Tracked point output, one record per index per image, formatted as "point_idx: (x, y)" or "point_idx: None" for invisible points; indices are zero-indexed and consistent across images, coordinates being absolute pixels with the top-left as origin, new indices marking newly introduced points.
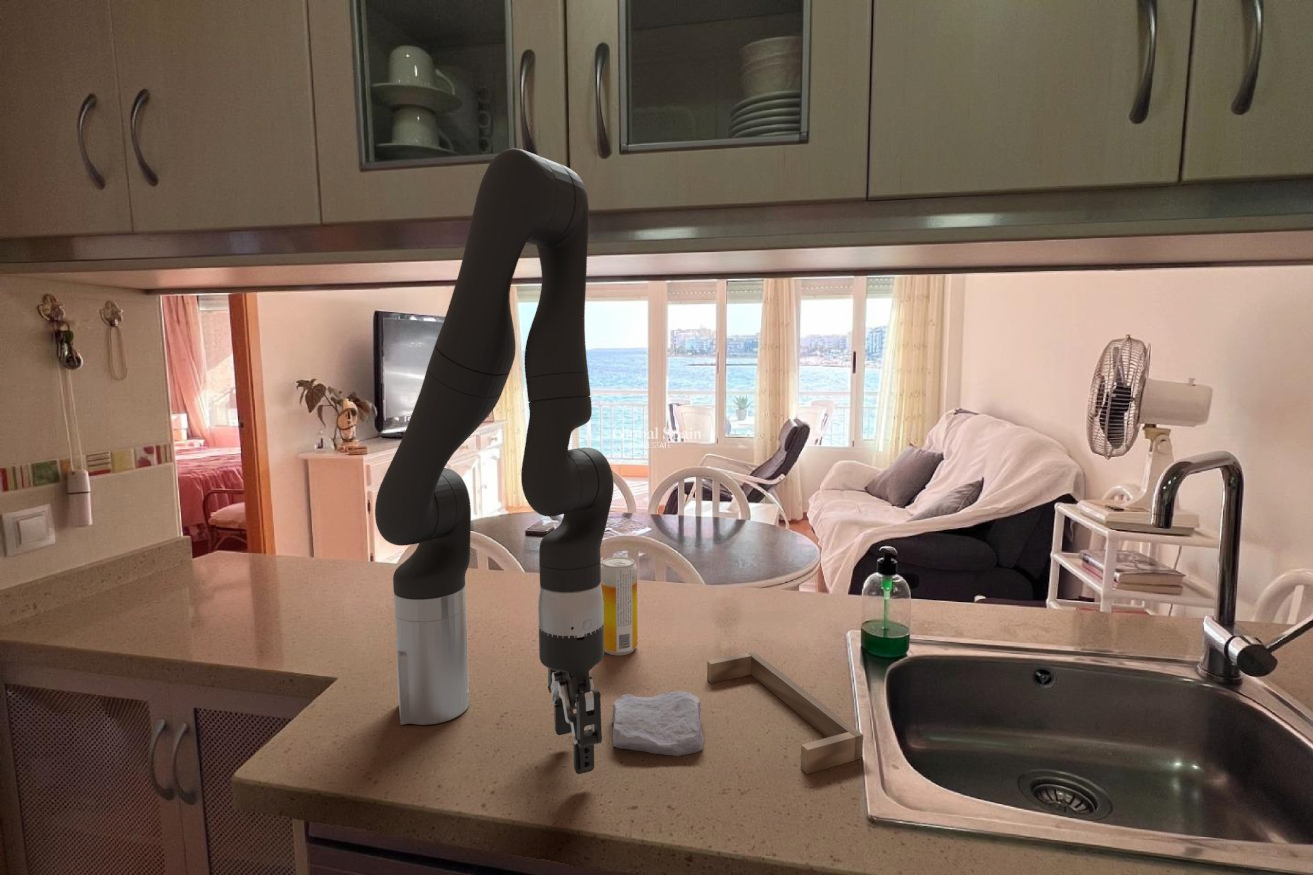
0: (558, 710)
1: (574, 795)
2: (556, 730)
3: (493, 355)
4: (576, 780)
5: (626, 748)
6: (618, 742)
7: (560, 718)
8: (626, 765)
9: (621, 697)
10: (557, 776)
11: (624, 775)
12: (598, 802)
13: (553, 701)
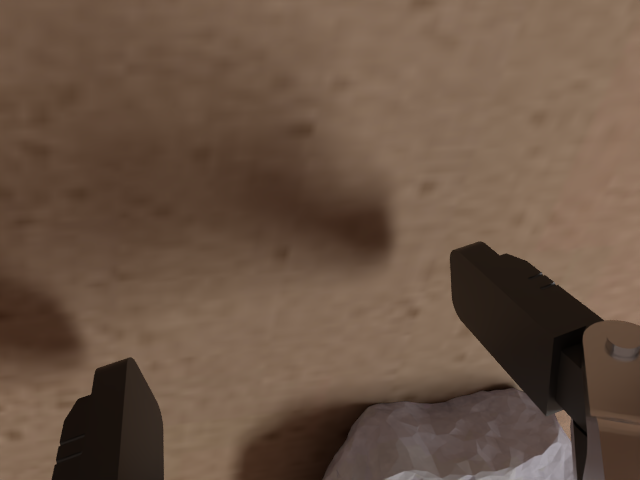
0: (536, 335)
1: (54, 311)
2: (463, 258)
3: None
4: (170, 308)
5: (346, 439)
6: (341, 454)
7: (501, 311)
8: (248, 450)
9: (570, 472)
10: (209, 231)
11: (188, 453)
12: (5, 400)
13: (604, 341)
